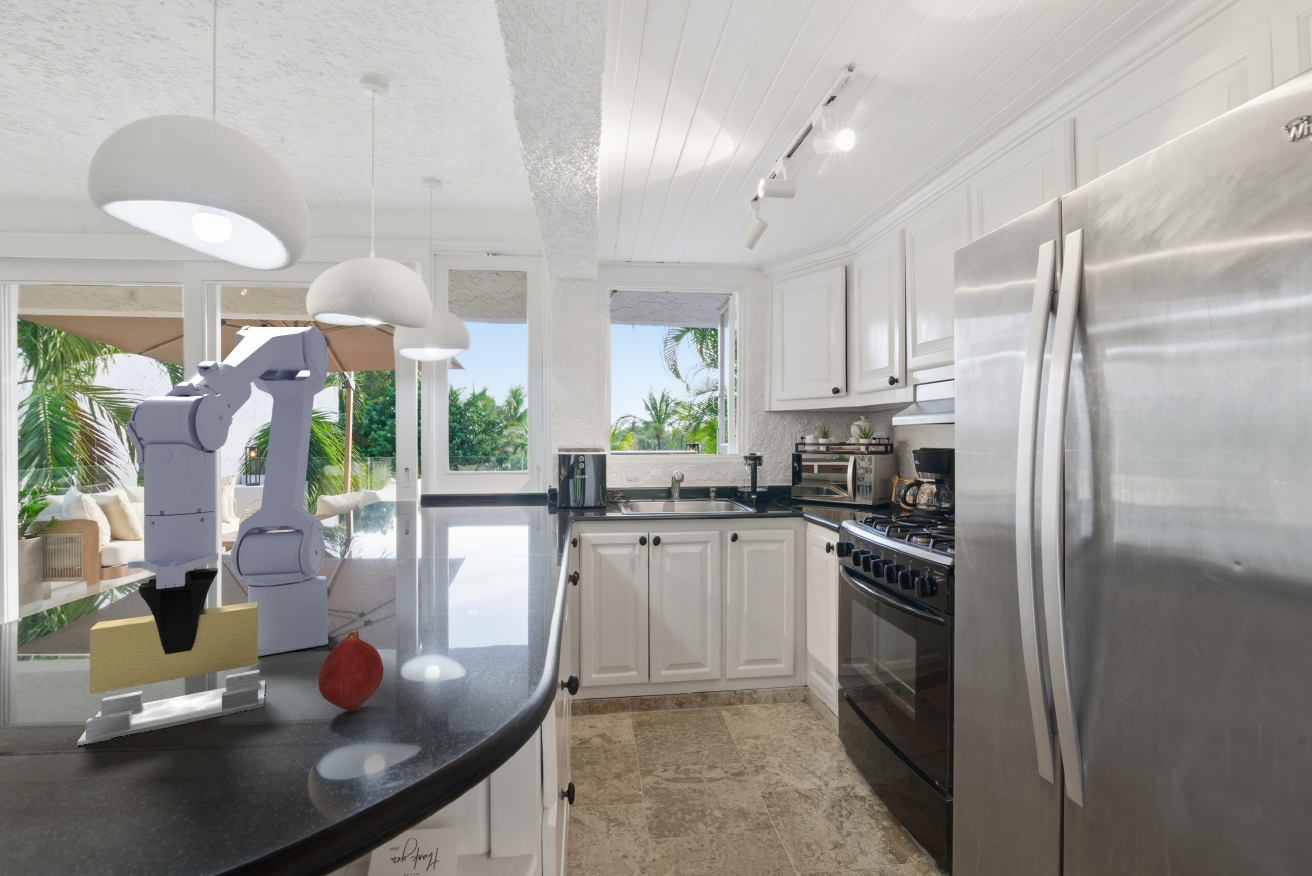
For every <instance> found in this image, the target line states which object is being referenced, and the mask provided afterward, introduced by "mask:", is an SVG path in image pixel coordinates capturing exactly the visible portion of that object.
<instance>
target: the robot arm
mask: <svg viewBox="0 0 1312 876" xmlns="http://www.w3.org/2000/svg"><path fill="white" fill-rule="evenodd" d="M326 340H327V339H326V337H325V335H324V333H323V332H322V331H321V330H320V329H319V328H318V327H317V326H308V327H287V326H286V327H284V326H283V327H281V326H278V327H277V326H274V327H271V326H270V327H269V326H265V327H263V326H260V327H259V326H251V325H246V326H242V327H241V328H240V330H239V331H237V332H236V333H235V336H234V349H233V350H231V352H230V353H228V355H227V356H226V358H225V359H224V360H223V361H222V362H219V361H202V362H200V363H198V365H196V368H197V369H196V370H195V371H194V372H193V373H191V374H190V375H189V376H188V377H186V378H185V379H184V380H183V381H181V382H179V383H177V384H176V385H175V386H174V388H173V389H171V390H170V391H169V392H167V394H165V395H164V396H150V397H147V398H145V399H144V400H143V401H142V402H139V403H137V404H136V405H135V407H134V408H133V409H132V411H131V414H130V418H129V421H127V422H126V425H127V427H126V428H127V434H128V437H129V439H130V442H131V444H133V447H134V449H135V451H136V464H138V468H139V469H142V470H143V519H144V520H143V524H144V525H143V558H134V559H130V560H129V561H127V568H128V569H143V570H145V571H148V572H151V573H154V574H156V575H155V576H152V577H151V578H149V579H148V582H143V583H141V584H140V585H139V586H138V592H139V595H140V596H141V598H142V600H144V601H145V603H146V605H147V607H148V608H149V610H150V612H151V613H152V615H153V616H154V619H155V621H156V625H157V629H158V632H159V637H160V641H161V644H162V647H163V650H164V652H165V654H172V653H179V652H185V651H191V650H192V647H193V645H194V641H195V638H196V633H197V627H198V621H199V615H200V611H201V609H205V603H206V599H207V597H208V594H209V591H210V588H211V585H212V583H213V582H214V581H215V580H214V579H215V578H216V576H217V575H218V572H219V568H218V567H209V568H207V567H205V568H201V567H204V566H207V565H209V564H212V563H215V562H218V560H219V552H217V538H216V536H217V531H216V528H217V525H216V519H217V517H216V515H217V514H216V513H217V512H216V503H217V502H216V501H217V500H216V451H217V450H219V449H220V448H221V447H223V446H225V444H226V442H227V439H228V437H229V430H230V427H231V425H232V424H233V423H232V422H233V420H234V419H233V416H234V415H235V414H236V413H237V412H238V411H239V410H240V409H242V407H243V406H244V405H245V404H246V402H247V401H248V400H249V399H250V397H252V396H251V395H252V385H251V383H253V384H254V386H255V388H257V390H259V391H262V392H264V393H266V394H268V395H270V396H271V397H272V399H273V400H272V402H273V403H272V408H271V409H272V412H271V418H270V419H271V420H270V426H269V436H268V437H269V438H268V445H267V451H266V452H267V453H266V454H267V455H266V460H265V461H266V462H265V471H264V479H263V487H262V495H261V496H262V497H261V506H260V507H259V509H257V510H256V511H255V512H253V513H252V514H250V515H249V516H248V517H246V518H244V519H243V520H242V521H240V523H239V528H238V531H237V535H236V538H235V541H234V543H233V545H232V547H231V551H230V558H229V559H230V567H231V570H232V572H233V574H234V575H235V576H236V577H237V578H238V579H240V580H241V585H242V586H243V585H244V586H245V585H247V603H251V602H258V657H262V656H269V655H273V654H279V653H285V652H292V651H296V650H302V649H308V648H309V649H310V648H315V647H321V646H327V645H328V644H329V636H328V635H329V632H328V631H329V629H330V626H331V624H330V623H331V622H330V621H331V620H330V615H328V613H329V612H328V611H329V610H328V607H329V606H328V583H327V581H328V580H327V577H326V576H325V575H318V576H316V574H318V572H319V571H320V570H321V568H322V566H323V564H324V561H325V556H326V543H325V539H324V523H323V522H322V521H321V520H320V519H319V518H318V517H317V516H316V515H313V513H311V512H310V511H308V510H307V509H305V507H304V503H305V502H304V500H305V493H306V491H305V489H306V481H307V473H308V472H307V471H308V461H309V451H310V442H311V441H310V438H311V428H312V419H313V408H314V400H315V399H314V398H315V395H316V394H318V393H319V392H321V391H323V390H324V389H325V387H326V381H327V375H328V367H329V366H328V364H329V349H328V345H327V341H326ZM295 530H297V531H295ZM275 531H276V532H275Z"/></svg>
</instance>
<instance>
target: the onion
mask: <svg viewBox="0 0 1312 876" xmlns="http://www.w3.org/2000/svg"><path fill="white" fill-rule="evenodd" d="M359 635H360V633H359V631H358V630H352V631H350V632H349V633H348V634H347V636H346V637H344V638H343V639H342V640H341V641H340V642H339V643H338V644H337V645H335V646H334V647H332V649H331V650H330V651H329V652H328V654H327V655H326V656H325V658H324V659H323V662H322V664H321V666H320V669H319V674H318V682H317V684H318V691H319V693H320V694H321V696H322V697H323V699H324V700H326V701H327V702H328V703H330V704H332V705H333V706H335V707H338V708H340V709H342V710H345V711H346V712H356V711H358V710H359V709H360V708H361V707H362V705H363V704H364V703H365V702H366V701H367V700H369V699H370V697H372V696H373V695H374V694H375V693H376V691H377V690H378V689H379V688H380V685H381V684H382V681H383V678H384V665H383V660H382V657H381V655H380V653H379V651H378V650H377V649H376V648H375V647H374V646H373V645H371V644H370V643H368V642H367V641H364V640H362V639H360V636H359Z"/></svg>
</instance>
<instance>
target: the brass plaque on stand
mask: <svg viewBox="0 0 1312 876" xmlns="http://www.w3.org/2000/svg"><path fill="white" fill-rule="evenodd" d="M258 661H259V656H258V602H251V603H248V602H246V603H238V604H230V605H220V606H216V607H215V606H214V607H213V606H212V607H208V608H207V607H206V608H205V607H204V609H201V611H200V615H199V621H198V627H197V633H196V638H195V641H194V645H193V647H192V650H191V651H185V652H179V653H172V654H165V652H164V650H163V647H162V644H161V641H160V637H159V632H158V629H157V625H156V621H155V619H154V616H153V614H152V615H144V616H137V617H130V618H129V617H128V618H123V619H122V618H121V619H116V620H115V619H114V620H113V619H111V620H105V621H98V622H97V623H95V624H94V625H93V626H92V627H91V628H90V629H89V695H94V694H98V693H100V694H101V693H105V692H111V691H116V690H120V689H121V690H122V689H126V688H127V689H128V688H131V687H138V686H143V685H149V684H155V683H160V682H161V683H162V682H166V681H167V682H168V681H172V680H177V679H178V680H179V679H184V678H189V677H196V676H200V675H206V674H211V673H218V672H223V671H224V672H225V671H230V670H235V669H241V668H247V667H251V666H258V663H259V662H258Z"/></svg>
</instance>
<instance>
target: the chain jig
mask: <svg viewBox="0 0 1312 876" xmlns="http://www.w3.org/2000/svg"><path fill="white" fill-rule="evenodd" d="M260 671H261V670H260V669H255V670H251V671H245V672H240V673H232V674H228V675H226V677H225V687H221V688H217V689H216V688H215V689H211V690H207V691H206V690H205V691H201V692H195V693H190V694H185V695H181V696H176V697H174V696H173V697H170V698H163V699H159V700H154V701H150V702H144V690H140V691H135V692H129V693H124V694H119V695H112V696H107V697H103V698H102V700H101V701H100V711H99V712H97V714H96V715H95V716H94V717H91V718H88V719H87V720H86V722H85V730H84V732H83V733H82V735H80V737H79V739H78V740H77V746H78V745H81V746H85V745H84V744H86V745H89V743H90V744H95V743H100V742H104V741H109V740H112V739H111V738H113V737H116V736H121V735H126V734H130V733H137V732H142V733H147V732H151V731H150V730H152V731H156V730H161V729H165V728H170V727H174V726H180V725H184V724H189V722H190V723H193V722H194V723H195V722H199V721H203V720H208V719H213V718H218V717H222V715H223V716H227V715H232V714H231V713H233V714H236V713H235V712H237V713H240V712H239V711H242V712H245V711H244V710H247V711H251V709H252V710H256V709H260V708H261V709H262V708H264V707H265V696H266V695H265V691H266V690H265V689H266V680H260ZM264 695H265V696H264ZM144 731H145V732H144ZM146 731H147V732H146ZM99 741H100V742H99Z"/></svg>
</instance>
